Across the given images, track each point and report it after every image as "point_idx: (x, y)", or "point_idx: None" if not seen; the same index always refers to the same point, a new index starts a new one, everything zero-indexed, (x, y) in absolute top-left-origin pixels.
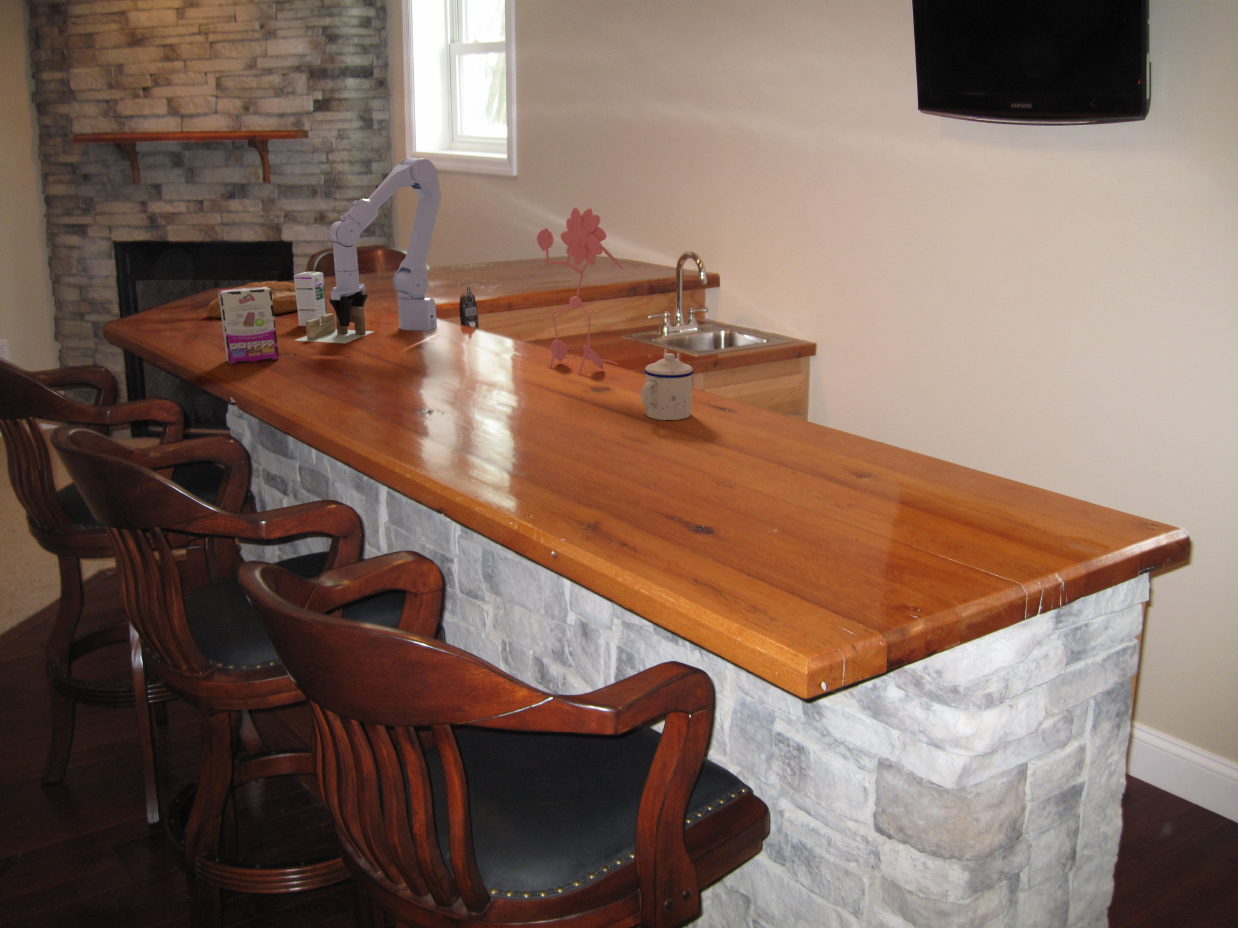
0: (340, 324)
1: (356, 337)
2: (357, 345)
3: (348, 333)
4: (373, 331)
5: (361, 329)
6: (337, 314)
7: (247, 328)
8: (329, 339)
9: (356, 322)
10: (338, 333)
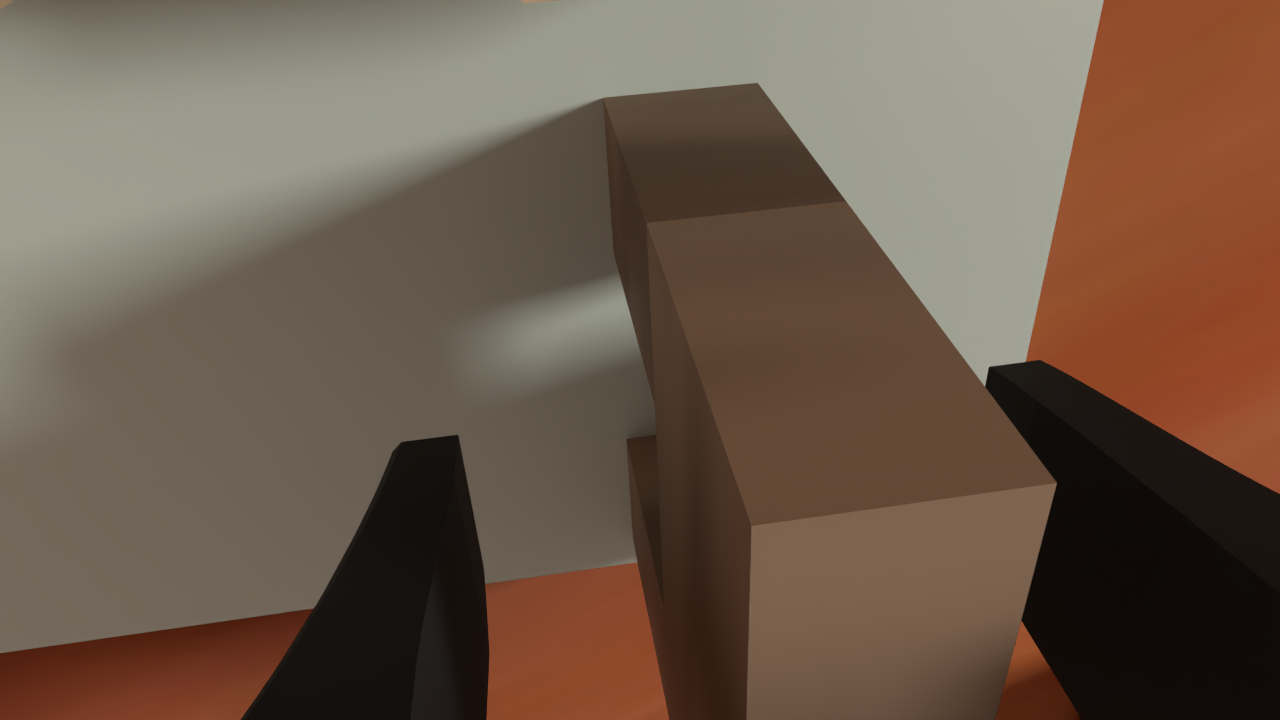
0: (389, 476)
1: None
2: (155, 681)
3: None
4: None
5: (648, 608)
6: (295, 675)
7: None
8: (17, 277)
9: (666, 649)
10: (609, 129)
